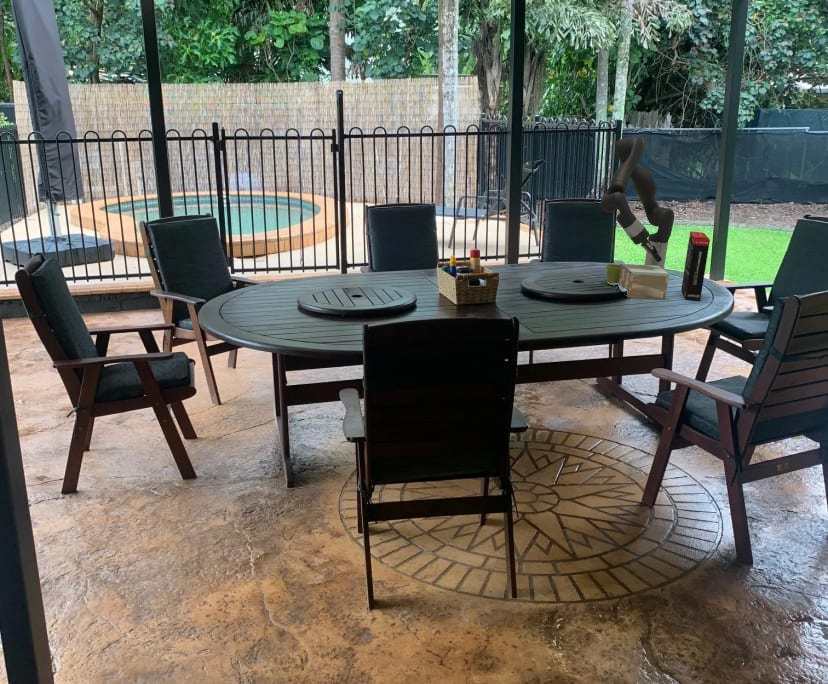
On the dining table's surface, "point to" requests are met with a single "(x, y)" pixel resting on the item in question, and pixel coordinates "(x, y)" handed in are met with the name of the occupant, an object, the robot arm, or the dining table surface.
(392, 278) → the dining table surface
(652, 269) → the box lid
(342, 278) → the dining table surface
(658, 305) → the dining table surface
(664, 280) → the plywood box
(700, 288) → the graphics card box
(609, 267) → the plant pot
